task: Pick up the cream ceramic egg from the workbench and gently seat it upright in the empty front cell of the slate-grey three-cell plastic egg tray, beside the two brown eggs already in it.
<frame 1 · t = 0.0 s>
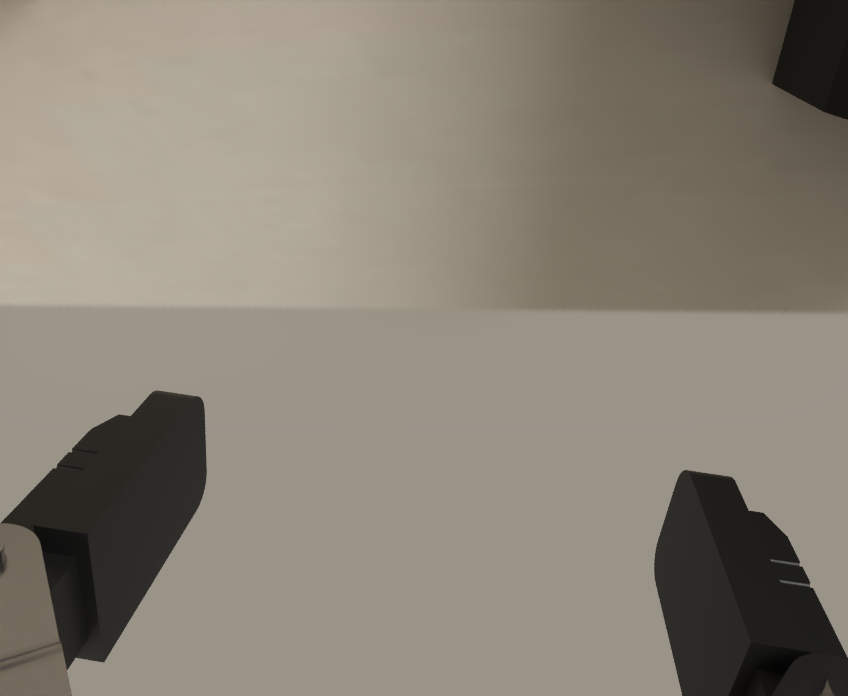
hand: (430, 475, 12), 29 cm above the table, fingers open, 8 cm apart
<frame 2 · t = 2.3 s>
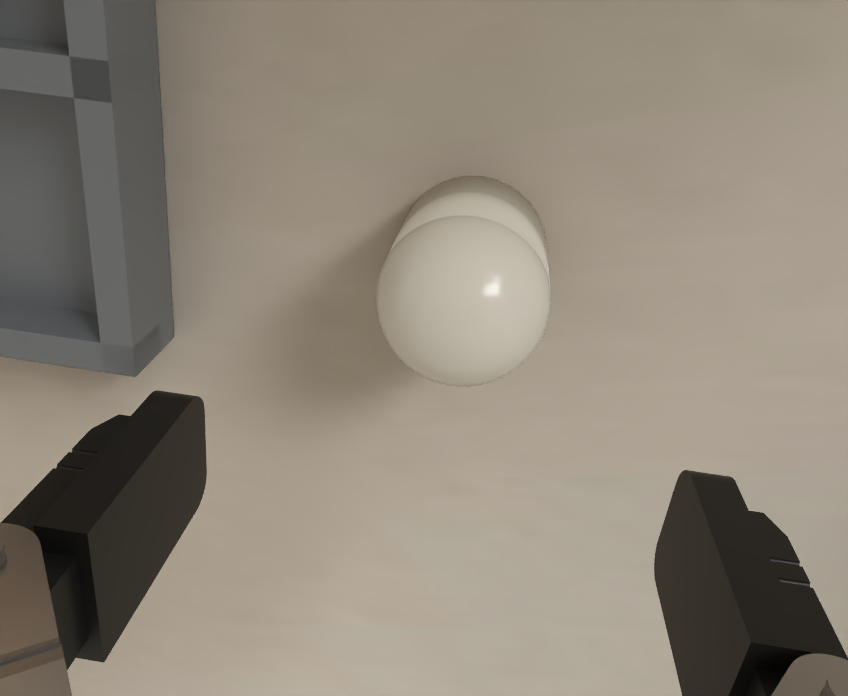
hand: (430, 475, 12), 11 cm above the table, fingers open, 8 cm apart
cream egg: (472, 248, 22), on the table
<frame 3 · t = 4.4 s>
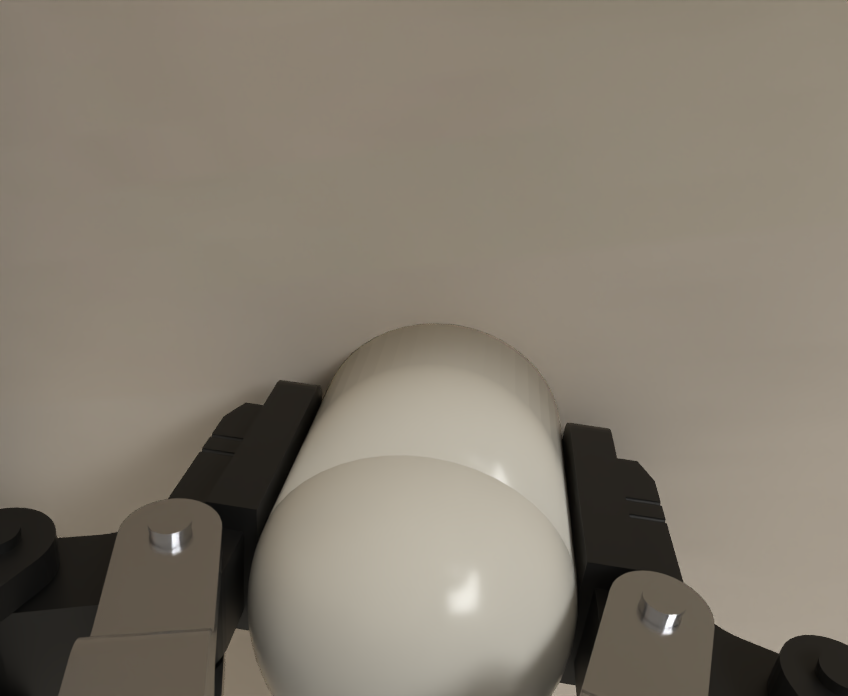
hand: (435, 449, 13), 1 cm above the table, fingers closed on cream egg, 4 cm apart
cream egg: (439, 432, 14), on the table, touching gripper
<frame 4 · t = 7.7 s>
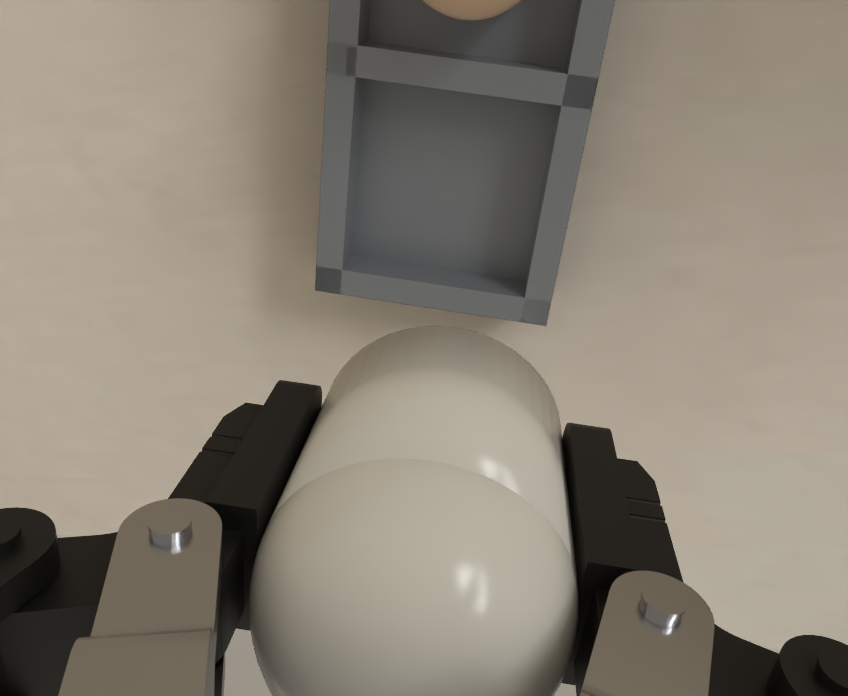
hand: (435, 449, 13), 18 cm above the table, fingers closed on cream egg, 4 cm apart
cream egg: (440, 434, 14), point 17 cm above the table, touching gripper
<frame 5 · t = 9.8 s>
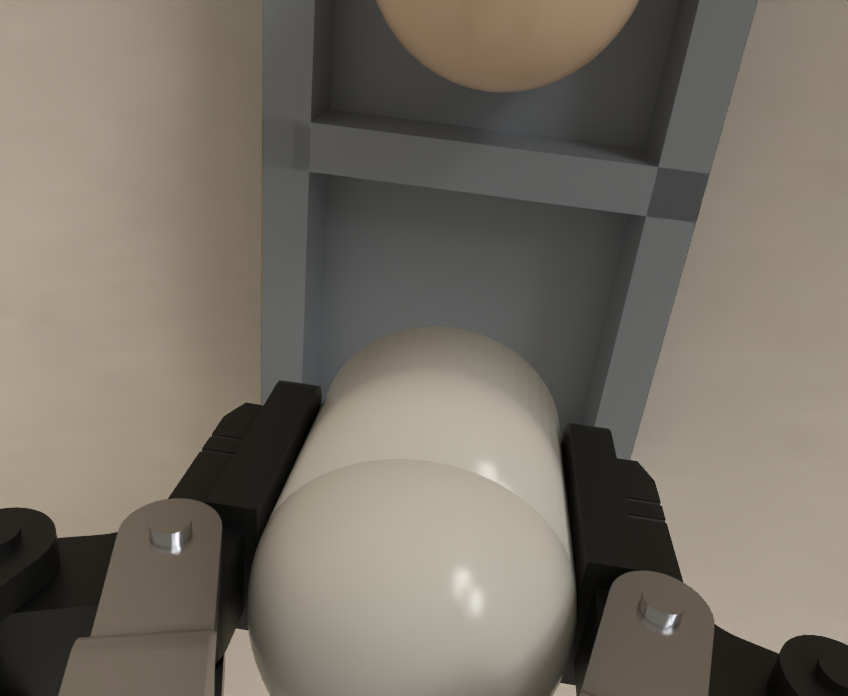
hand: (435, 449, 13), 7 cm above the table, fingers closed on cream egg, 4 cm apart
cream egg: (439, 434, 14), point 6 cm above the table, touching gripper
when the fingers open (3 cm above the table, at t = 11.4 s): cream egg drops 2 cm, resting on egg tray.
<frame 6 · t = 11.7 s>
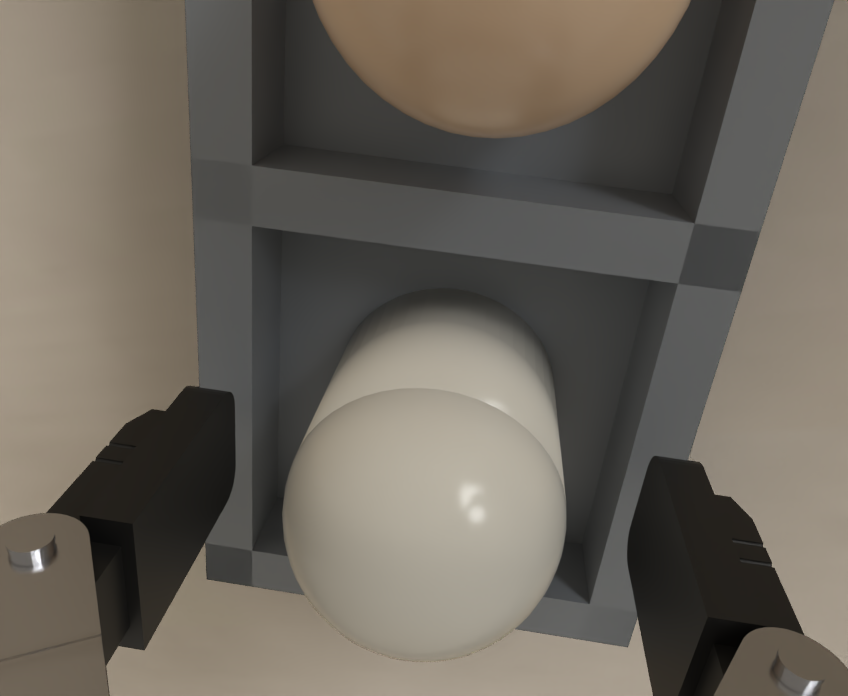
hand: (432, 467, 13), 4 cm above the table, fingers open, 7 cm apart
cream egg: (445, 388, 15), point 1 cm above the table, touching egg tray
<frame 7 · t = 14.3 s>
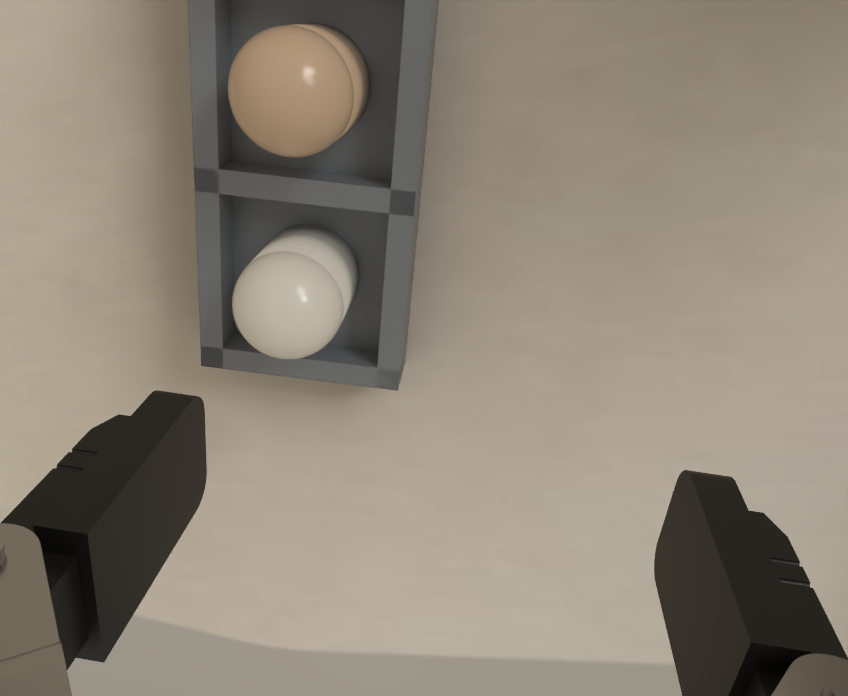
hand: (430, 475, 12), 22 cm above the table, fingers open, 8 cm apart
brown egg middle: (317, 82, 30), point 1 cm above the table, touching egg tray
egg tray: (322, 80, 31), on the table
cream egg: (310, 271, 33), point 1 cm above the table, touching egg tray
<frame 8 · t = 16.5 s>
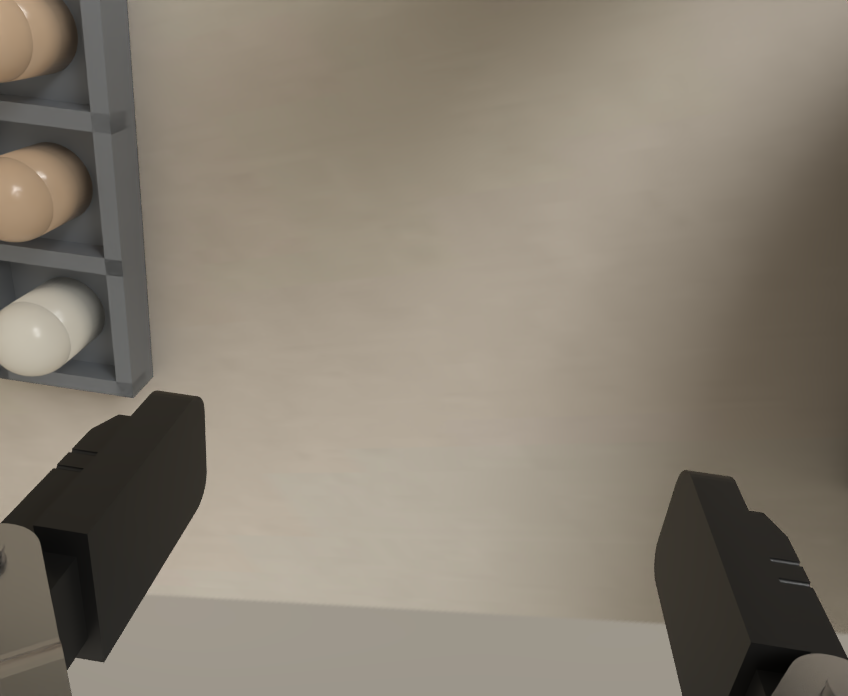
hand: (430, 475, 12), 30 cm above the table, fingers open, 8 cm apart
brown egg middle: (55, 181, 42), point 1 cm above the table, touching egg tray
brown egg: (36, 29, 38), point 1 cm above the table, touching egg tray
egg tray: (64, 177, 43), on the table
cream egg: (70, 310, 45), point 1 cm above the table, touching egg tray
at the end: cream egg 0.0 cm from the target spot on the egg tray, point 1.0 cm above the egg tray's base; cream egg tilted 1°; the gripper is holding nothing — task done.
